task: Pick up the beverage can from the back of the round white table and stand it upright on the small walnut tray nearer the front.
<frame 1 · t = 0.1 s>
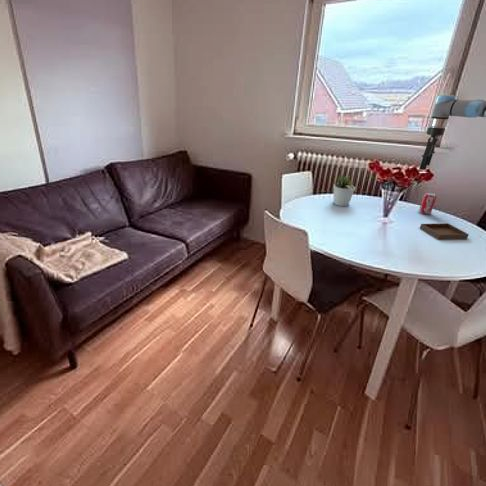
hand: (424, 167, 171), 28 cm above the table, tool pointing down, fingers open, 13 cm apart
tray: (442, 233, 159), on the table
beverage can: (424, 213, 184), on the table
potted plant: (339, 204, 196), on the table
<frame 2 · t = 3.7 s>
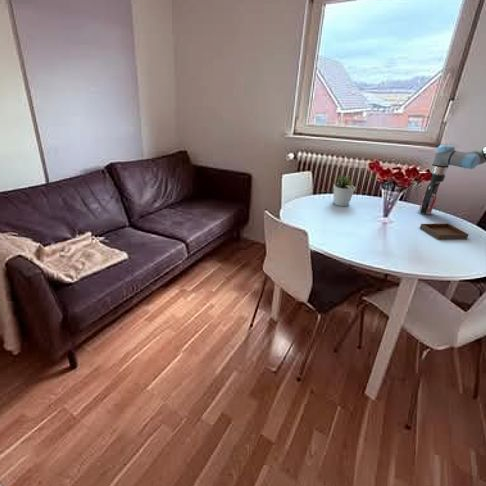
hand: (424, 211, 183), 1 cm above the table, tool pointing down, fingers closed on beverage can, 6 cm apart
beverage can: (424, 213, 184), on the table, touching gripper
everything else where it was.
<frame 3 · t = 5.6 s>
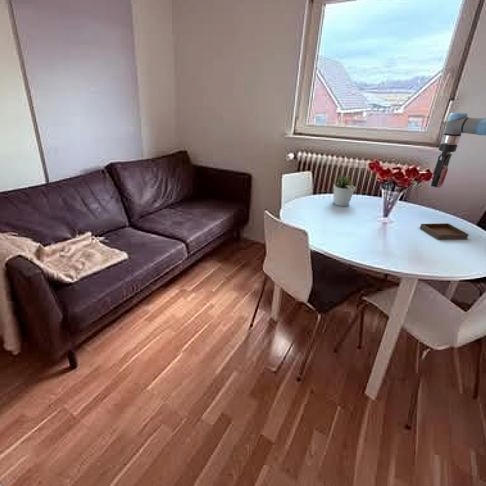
hand: (435, 185, 174), 18 cm above the table, tool pointing down, fingers closed on beverage can, 6 cm apart
beverage can: (435, 187, 175), point 17 cm above the table, touching gripper
everything else where it was.
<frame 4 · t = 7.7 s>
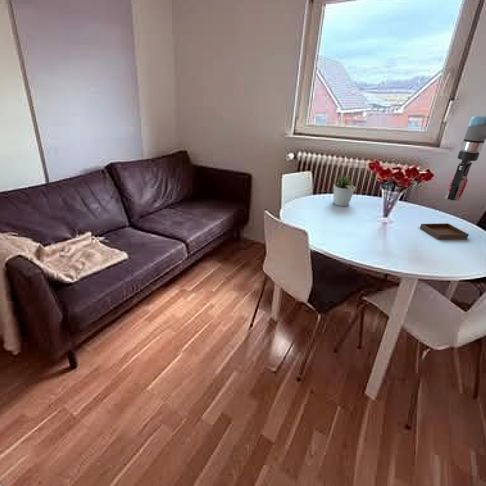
hand: (452, 198, 153), 18 cm above the table, tool pointing down, fingers closed on beverage can, 6 cm apart
beverage can: (452, 200, 154), point 17 cm above the table, touching gripper
everything else where it was.
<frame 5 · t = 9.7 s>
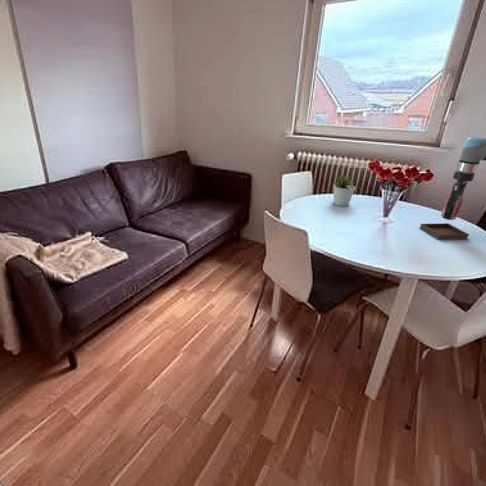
hand: (448, 216, 155), 9 cm above the table, tool pointing down, fingers closed on beverage can, 6 cm apart
beverage can: (447, 218, 155), point 8 cm above the table, touching gripper
everything else where it was.
when the fingers open (1 cm above the table, at t = 11.8 s): beverage can stays where it is, resting on tray.
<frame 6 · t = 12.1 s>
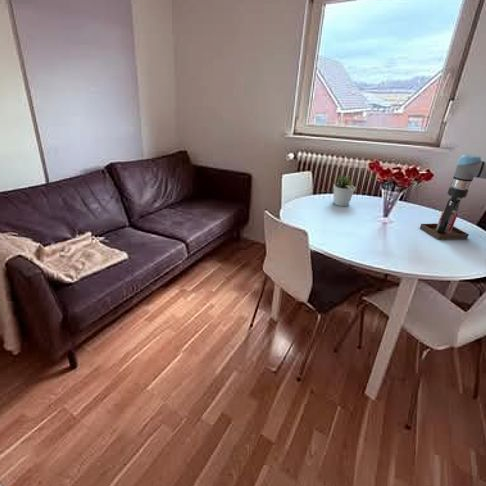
hand: (443, 230, 158), 2 cm above the table, tool pointing down, fingers open, 9 cm apart
beverage can: (442, 232, 158), resting on tray
everything else where it was.
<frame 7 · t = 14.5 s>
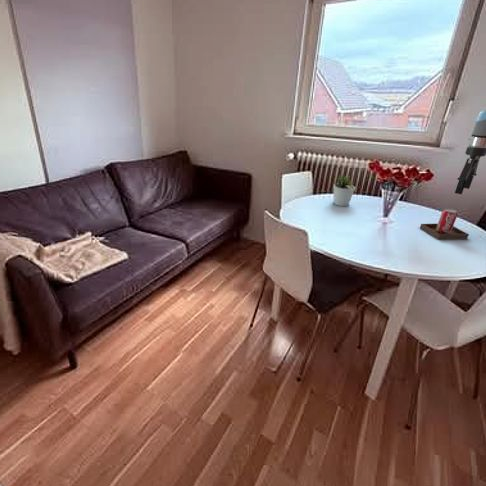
hand: (462, 190, 151), 22 cm above the table, tool pointing down, fingers open, 13 cm apart
nothing on the table moved.
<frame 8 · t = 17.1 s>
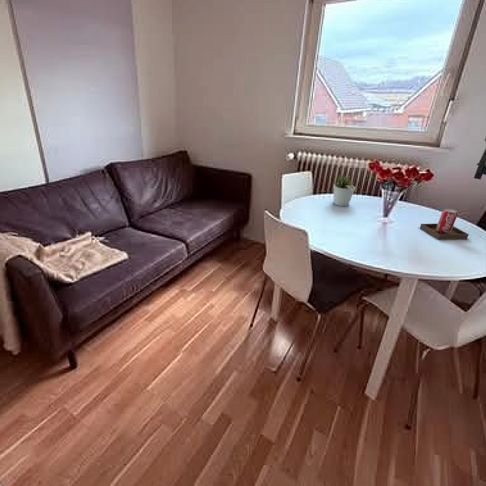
hand: (480, 176, 159), 27 cm above the table, tool pointing down, fingers open, 13 cm apart
nothing on the table moved.
at the end: beverage can inside the target area in the tray (0.1 cm from its centre), point 0.4 cm above the tray's base; beverage can tilted 0°; the gripper is holding nothing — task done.
